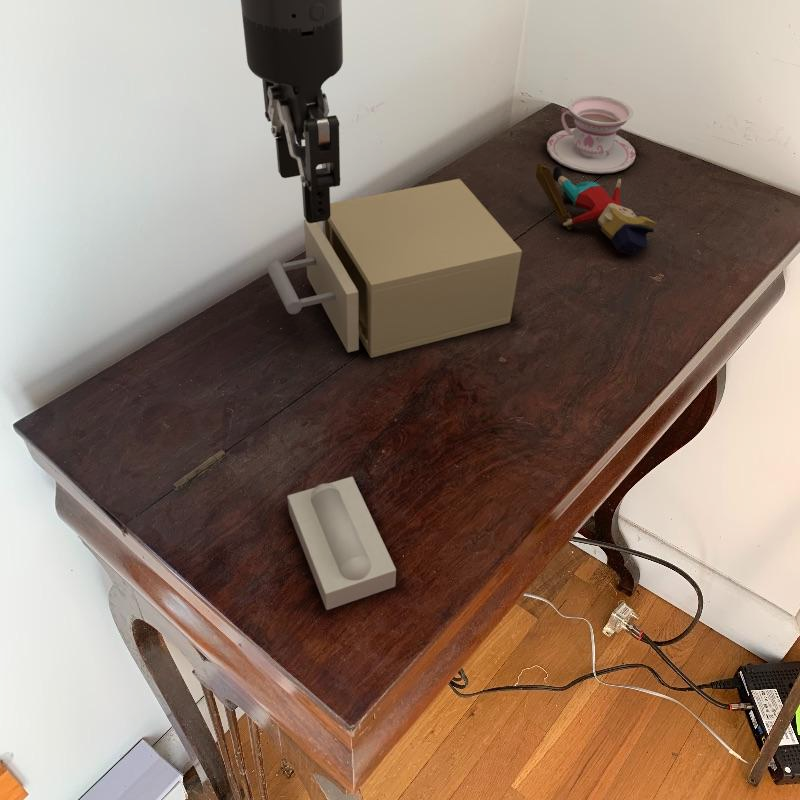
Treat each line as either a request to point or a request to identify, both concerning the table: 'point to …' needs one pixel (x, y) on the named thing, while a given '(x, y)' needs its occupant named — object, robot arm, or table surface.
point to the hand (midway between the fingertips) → (303, 196)
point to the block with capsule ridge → (341, 542)
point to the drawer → (327, 284)
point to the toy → (597, 210)
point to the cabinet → (427, 264)
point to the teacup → (593, 136)
